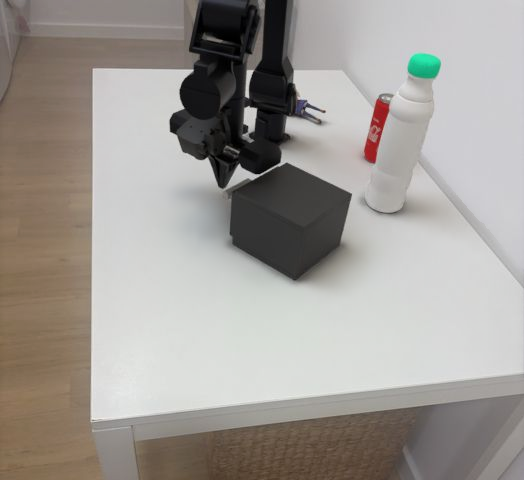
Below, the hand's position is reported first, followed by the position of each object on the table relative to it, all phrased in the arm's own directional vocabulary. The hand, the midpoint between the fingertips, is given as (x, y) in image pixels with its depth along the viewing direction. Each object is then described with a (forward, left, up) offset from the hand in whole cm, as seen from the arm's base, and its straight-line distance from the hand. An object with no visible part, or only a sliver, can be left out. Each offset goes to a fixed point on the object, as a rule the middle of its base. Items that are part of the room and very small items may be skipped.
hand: (222, 187), depth 88 cm
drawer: (0, +11, -3) cm, 11 cm away
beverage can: (-37, +9, -4) cm, 38 cm away
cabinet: (0, +14, -4) cm, 15 cm away
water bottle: (-23, +19, -4) cm, 30 cm away
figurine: (-40, -15, -4) cm, 43 cm away
